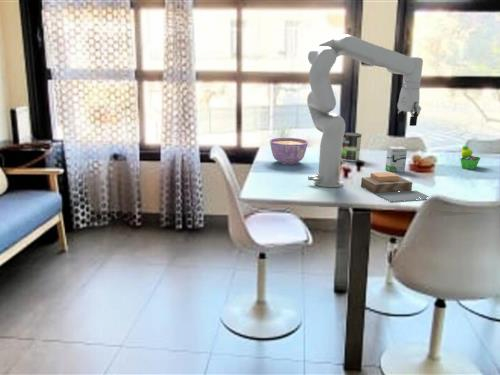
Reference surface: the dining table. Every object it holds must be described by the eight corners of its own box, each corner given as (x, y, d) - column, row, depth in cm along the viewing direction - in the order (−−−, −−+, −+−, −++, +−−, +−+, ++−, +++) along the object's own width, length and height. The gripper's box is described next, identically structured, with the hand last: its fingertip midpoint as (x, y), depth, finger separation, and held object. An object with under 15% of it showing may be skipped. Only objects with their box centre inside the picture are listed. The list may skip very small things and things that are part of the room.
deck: (374, 193, 220) (375, 184, 219) (360, 186, 232) (361, 177, 230) (411, 191, 225) (412, 182, 224) (396, 184, 237) (397, 175, 235)
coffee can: (347, 162, 279) (349, 136, 275) (336, 158, 288) (338, 132, 284) (363, 160, 283) (365, 135, 279) (352, 156, 292) (354, 131, 288)
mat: (390, 202, 209) (390, 201, 209) (375, 193, 220) (375, 193, 220) (432, 199, 215) (433, 198, 214) (416, 191, 226) (416, 190, 225)
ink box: (389, 171, 259) (391, 148, 256) (384, 169, 264) (387, 146, 261) (405, 171, 261) (407, 148, 258) (400, 169, 266) (403, 146, 263)
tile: (378, 181, 225) (378, 176, 224) (370, 177, 231) (370, 173, 231) (398, 180, 227) (399, 175, 227) (390, 176, 234) (390, 172, 233)
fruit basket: (473, 170, 267) (476, 149, 264) (456, 167, 272) (459, 146, 269) (479, 166, 275) (482, 145, 272) (462, 164, 281) (465, 143, 278)
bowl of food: (308, 167, 263) (309, 145, 260) (269, 166, 264) (270, 144, 261) (305, 159, 283) (306, 138, 280) (268, 158, 283) (269, 137, 280)
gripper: (393, 84, 238) (389, 121, 243) (415, 87, 223) (410, 127, 227) (407, 84, 241) (403, 121, 245) (430, 87, 225) (425, 126, 229)
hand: (406, 124), depth 236 cm, fingers open, 9 cm apart
